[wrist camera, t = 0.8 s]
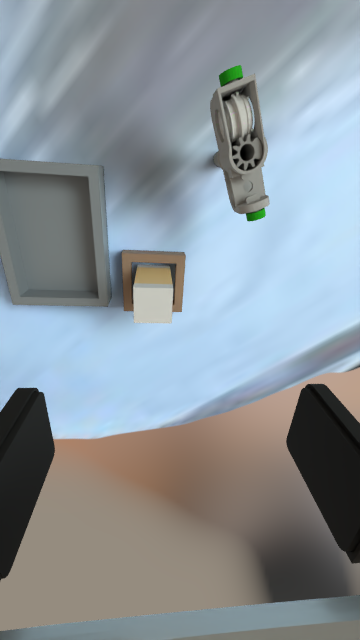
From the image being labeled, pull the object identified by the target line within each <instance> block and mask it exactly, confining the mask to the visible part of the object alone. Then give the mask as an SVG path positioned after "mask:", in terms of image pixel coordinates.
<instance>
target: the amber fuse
mask: <svg viewBox="0 0 360 640" xmlns="http://www.w3.org/2000/svg"><path fill="white" fill-rule="evenodd" d="M133 299H134V323H172V304H173V283H172V277H171V271H170V265H143V264H138V266H137V271H136V276H135V281H134V286H133Z"/></svg>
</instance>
